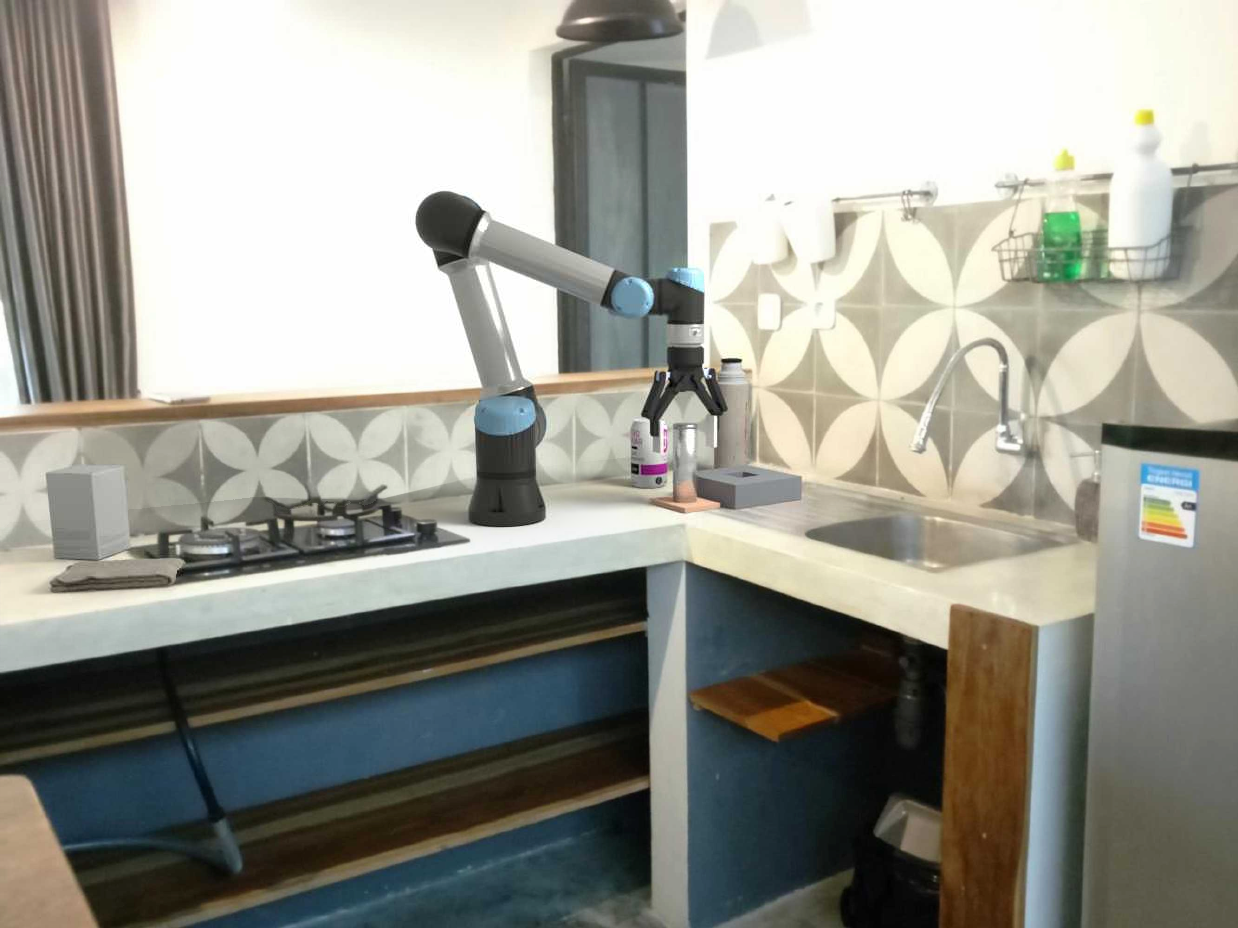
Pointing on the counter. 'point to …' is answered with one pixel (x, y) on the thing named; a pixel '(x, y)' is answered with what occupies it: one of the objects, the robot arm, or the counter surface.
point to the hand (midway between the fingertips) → (685, 449)
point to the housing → (747, 486)
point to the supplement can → (647, 456)
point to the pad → (685, 504)
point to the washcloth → (117, 575)
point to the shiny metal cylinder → (684, 462)
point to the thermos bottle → (732, 416)
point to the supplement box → (88, 511)
